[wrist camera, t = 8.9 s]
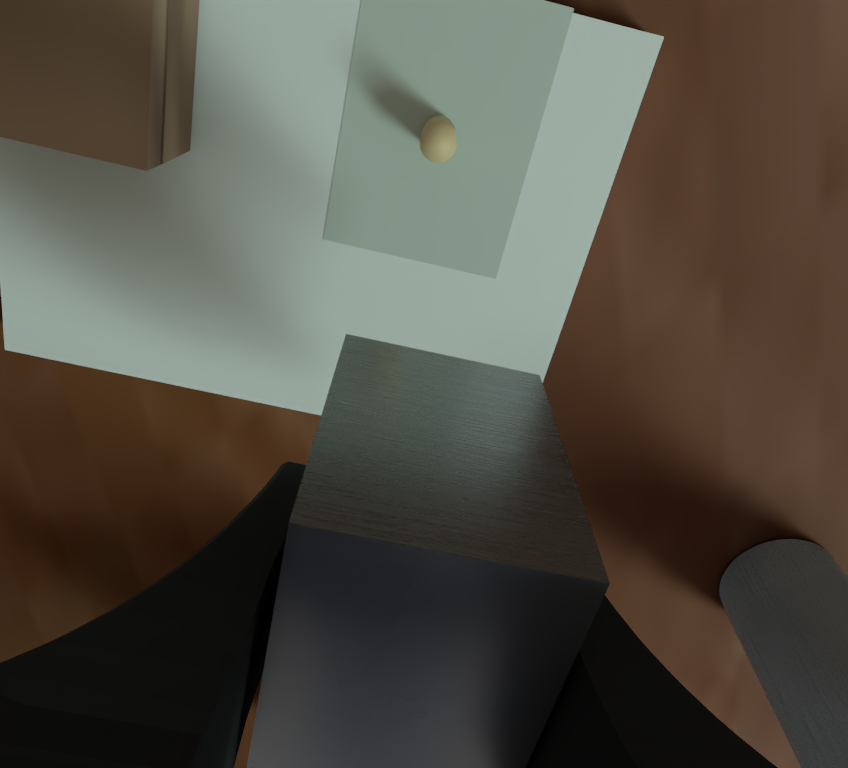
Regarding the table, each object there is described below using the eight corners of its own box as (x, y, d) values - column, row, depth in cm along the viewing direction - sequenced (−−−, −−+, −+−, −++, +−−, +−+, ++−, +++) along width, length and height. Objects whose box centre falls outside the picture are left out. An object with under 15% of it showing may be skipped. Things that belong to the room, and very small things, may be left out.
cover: (189, 150, 18) (147, 171, 16) (1, 106, 18) (-75, 119, 15) (203, -63, 16) (155, -82, 13) (-12, -119, 16) (-105, -150, 13)
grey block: (466, 592, 16) (483, 859, 11) (302, 563, 16) (237, 824, 11) (539, 375, 14) (610, 582, 8) (345, 333, 13) (288, 524, 8)
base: (513, 437, 24) (523, 491, 21) (25, 334, 23) (-35, 378, 20) (652, 32, 18) (691, 32, 15) (-1, -141, 17) (-92, -176, 14)
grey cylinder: (756, 523, 25) (929, 797, 16) (860, 554, 26) (1084, 836, 17) (696, 605, 28) (821, 891, 18) (794, 633, 28) (963, 923, 19)
